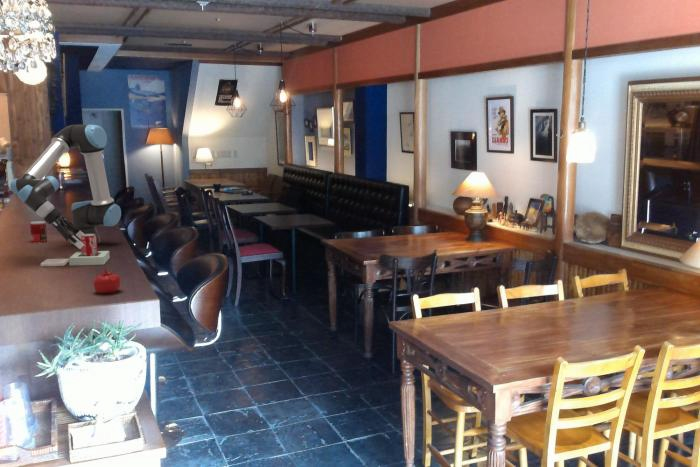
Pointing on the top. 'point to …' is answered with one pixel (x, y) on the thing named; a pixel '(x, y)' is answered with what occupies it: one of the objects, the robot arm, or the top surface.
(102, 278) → the pomegranate
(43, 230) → the canned food
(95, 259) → the holder
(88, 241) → the soda can
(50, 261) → the tile
